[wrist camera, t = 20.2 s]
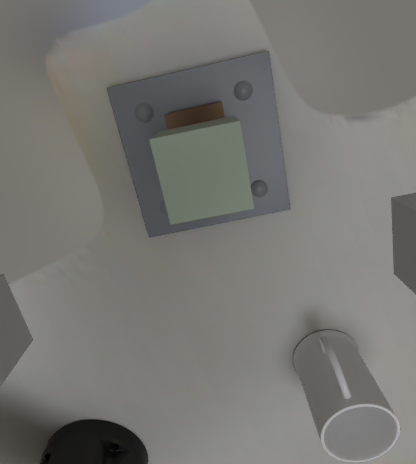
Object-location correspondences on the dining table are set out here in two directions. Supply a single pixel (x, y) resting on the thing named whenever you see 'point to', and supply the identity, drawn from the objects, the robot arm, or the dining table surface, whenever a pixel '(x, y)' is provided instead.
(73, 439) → the robot arm
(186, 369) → the dining table surface
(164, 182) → the sage brick
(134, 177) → the plate
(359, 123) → the dining table surface
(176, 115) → the walnut brick
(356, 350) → the mug
